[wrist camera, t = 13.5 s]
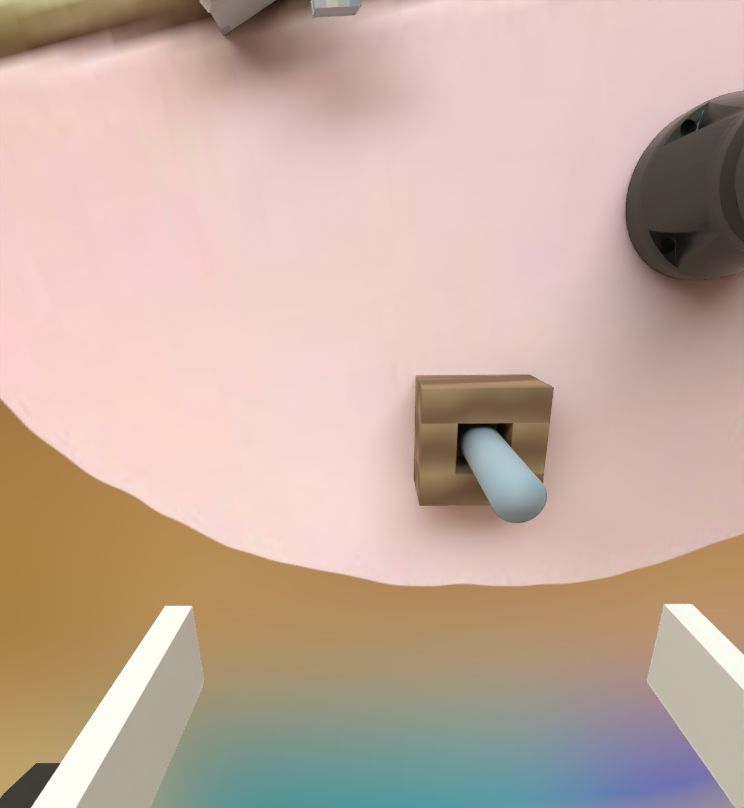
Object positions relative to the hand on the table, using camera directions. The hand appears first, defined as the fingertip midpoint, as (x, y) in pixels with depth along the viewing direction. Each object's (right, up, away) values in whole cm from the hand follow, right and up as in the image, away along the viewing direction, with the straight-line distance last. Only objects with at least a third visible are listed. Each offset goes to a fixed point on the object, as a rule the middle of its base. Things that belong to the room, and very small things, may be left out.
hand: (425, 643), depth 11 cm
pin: (+9, +4, +31) cm, 33 cm away
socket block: (+9, +4, +33) cm, 34 cm away
